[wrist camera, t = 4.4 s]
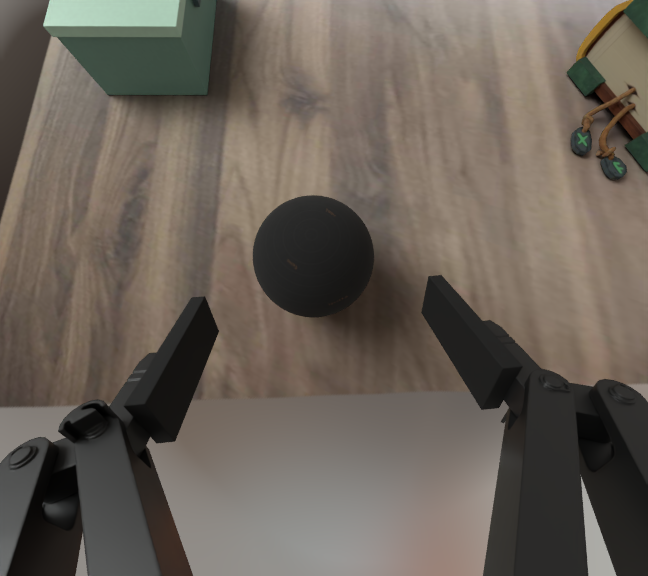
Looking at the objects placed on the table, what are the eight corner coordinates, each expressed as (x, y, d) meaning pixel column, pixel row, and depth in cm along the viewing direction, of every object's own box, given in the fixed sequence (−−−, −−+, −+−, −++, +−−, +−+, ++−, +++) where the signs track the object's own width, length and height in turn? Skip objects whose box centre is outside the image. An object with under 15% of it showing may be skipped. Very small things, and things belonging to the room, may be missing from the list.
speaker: (297, 213, 28) (283, 144, 18) (379, 254, 27) (412, 206, 17) (249, 292, 26) (205, 264, 16) (335, 338, 25) (344, 339, 15)
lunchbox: (212, 96, 30) (180, 26, 24) (102, 96, 30) (37, 25, 23) (222, -6, 34) (196, -94, 27) (122, -6, 34) (70, -95, 27)
